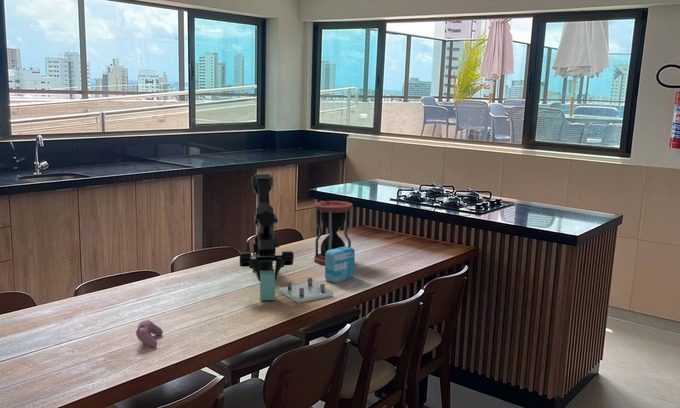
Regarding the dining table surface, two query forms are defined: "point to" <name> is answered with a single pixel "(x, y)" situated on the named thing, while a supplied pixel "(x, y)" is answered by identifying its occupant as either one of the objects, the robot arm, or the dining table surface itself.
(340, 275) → the blue printed box
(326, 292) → the plate
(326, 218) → the hourglass
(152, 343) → the video game controller
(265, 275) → the module box
